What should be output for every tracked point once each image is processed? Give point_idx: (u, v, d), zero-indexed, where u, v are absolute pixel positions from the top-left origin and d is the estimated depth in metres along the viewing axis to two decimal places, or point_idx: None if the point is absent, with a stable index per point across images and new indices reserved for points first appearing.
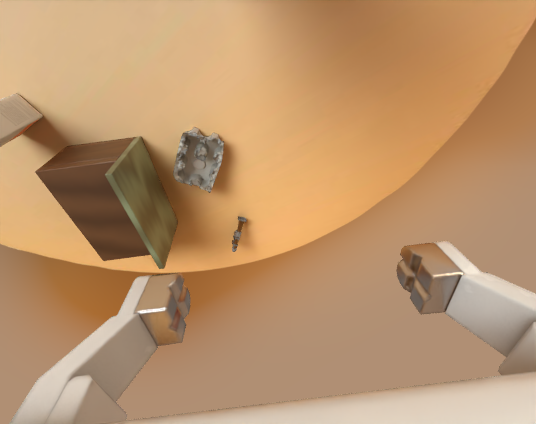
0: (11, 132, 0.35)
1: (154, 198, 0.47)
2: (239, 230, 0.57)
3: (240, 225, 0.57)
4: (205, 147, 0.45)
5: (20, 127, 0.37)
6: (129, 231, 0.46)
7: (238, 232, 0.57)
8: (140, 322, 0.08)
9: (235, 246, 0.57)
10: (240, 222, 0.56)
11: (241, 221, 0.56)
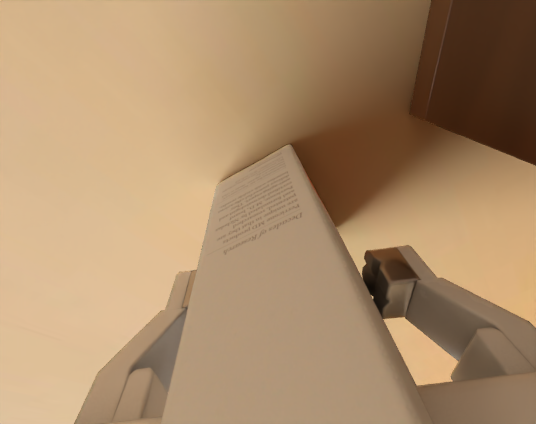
0: (334, 247, 0.05)
1: None
2: None
3: None
4: None
5: (313, 203, 0.07)
6: None
7: None
8: None
9: None
10: None
11: None
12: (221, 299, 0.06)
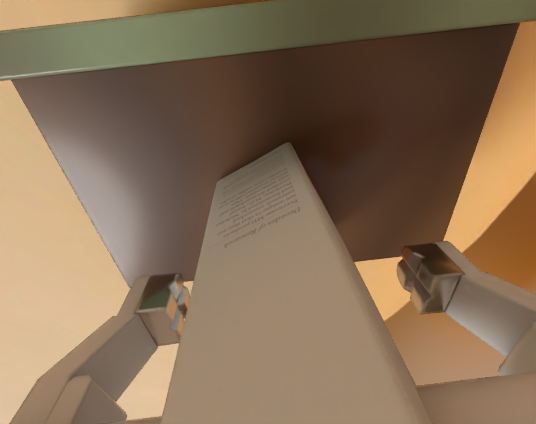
0: (330, 239, 0.06)
1: None
2: None
3: None
4: None
5: (311, 198, 0.07)
6: (348, 140, 0.12)
7: None
8: (140, 322, 0.08)
9: None
10: None
11: None
12: (221, 289, 0.06)
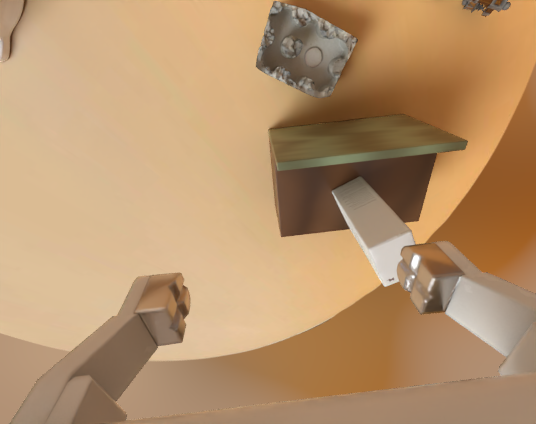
0: (386, 205, 0.26)
1: (345, 131, 0.33)
2: None
3: None
4: (284, 38, 0.30)
5: (378, 196, 0.28)
6: (382, 175, 0.33)
7: None
8: (140, 322, 0.08)
9: (497, 0, 0.28)
10: None
11: None
12: (360, 217, 0.27)
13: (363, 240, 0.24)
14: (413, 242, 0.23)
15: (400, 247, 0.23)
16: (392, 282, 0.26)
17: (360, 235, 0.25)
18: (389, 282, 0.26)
